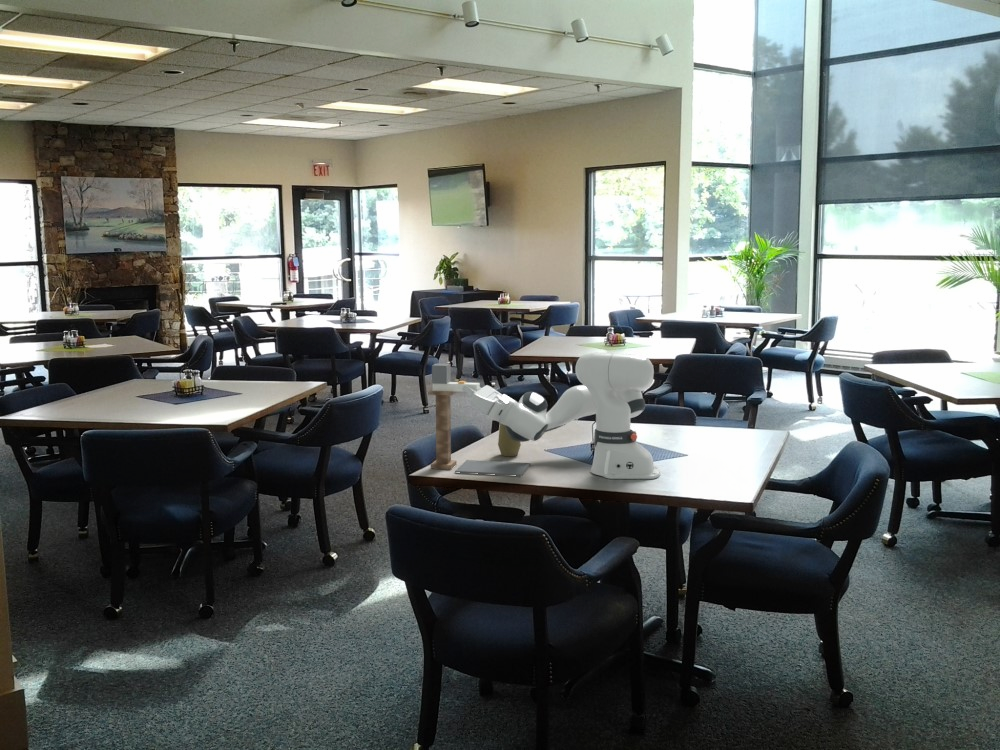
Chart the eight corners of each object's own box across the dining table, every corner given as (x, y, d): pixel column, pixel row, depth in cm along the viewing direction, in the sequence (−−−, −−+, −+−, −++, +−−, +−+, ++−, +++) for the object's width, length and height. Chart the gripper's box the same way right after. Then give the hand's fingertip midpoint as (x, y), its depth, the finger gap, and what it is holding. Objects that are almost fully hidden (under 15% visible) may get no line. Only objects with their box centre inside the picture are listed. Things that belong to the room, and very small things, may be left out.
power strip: (479, 390, 309) (479, 364, 307) (476, 392, 304) (476, 366, 303) (436, 388, 312) (436, 363, 311) (432, 391, 307) (431, 365, 306)
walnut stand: (458, 464, 315) (457, 388, 312) (452, 470, 308) (451, 392, 304) (435, 463, 317) (434, 387, 313) (428, 468, 309) (427, 391, 306)
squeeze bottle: (501, 458, 325) (501, 407, 322) (495, 453, 333) (495, 403, 330) (523, 456, 327) (523, 406, 325) (517, 451, 335) (517, 402, 332)
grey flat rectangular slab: (530, 465, 314) (530, 462, 314) (521, 476, 299) (521, 474, 299) (466, 462, 319) (466, 459, 319) (454, 473, 303) (454, 470, 303)
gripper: (512, 394, 315) (477, 373, 316) (499, 404, 295) (462, 381, 296) (502, 410, 316) (468, 389, 318) (489, 421, 296) (453, 398, 298)
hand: (465, 385), depth 307 cm, fingers closed on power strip, 4 cm apart
